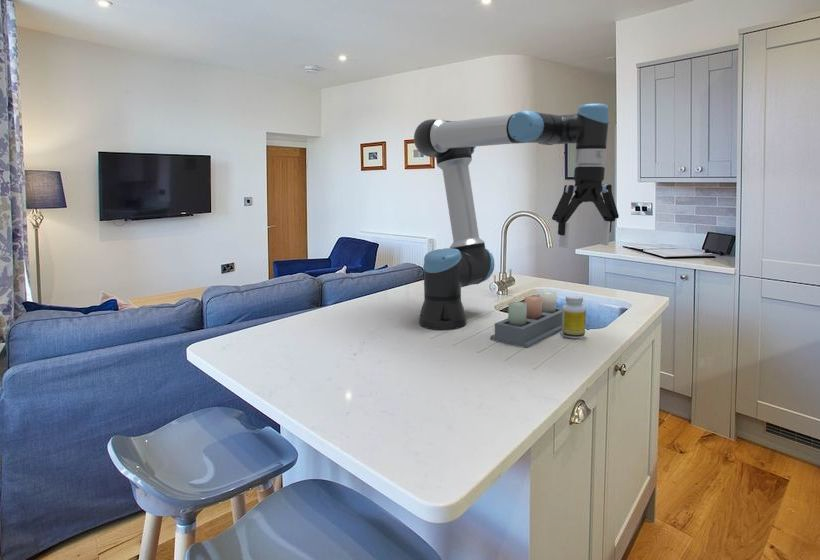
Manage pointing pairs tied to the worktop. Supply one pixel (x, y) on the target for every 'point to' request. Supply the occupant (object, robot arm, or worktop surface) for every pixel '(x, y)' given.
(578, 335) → the pill bottle
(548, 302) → the button cream
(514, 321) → the button sage
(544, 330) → the button panel
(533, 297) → the pink cylinder
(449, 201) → the robot arm
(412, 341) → the worktop surface
